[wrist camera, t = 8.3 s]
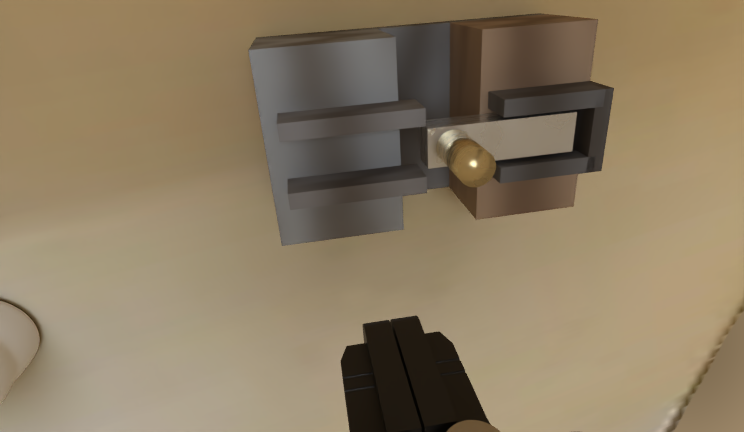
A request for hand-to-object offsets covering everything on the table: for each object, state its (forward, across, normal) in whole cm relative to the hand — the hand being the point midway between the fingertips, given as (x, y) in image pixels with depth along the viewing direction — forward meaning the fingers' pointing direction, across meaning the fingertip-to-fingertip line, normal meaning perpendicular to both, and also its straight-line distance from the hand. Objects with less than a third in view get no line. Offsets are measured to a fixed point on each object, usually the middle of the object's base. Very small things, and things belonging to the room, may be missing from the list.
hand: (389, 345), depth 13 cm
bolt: (+17, -10, 0) cm, 20 cm away
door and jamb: (+25, -6, 0) cm, 25 cm away
